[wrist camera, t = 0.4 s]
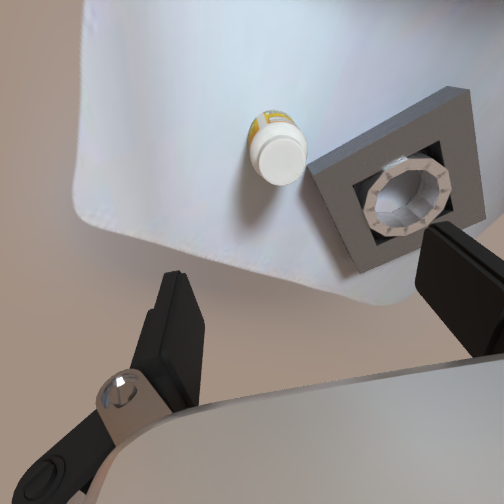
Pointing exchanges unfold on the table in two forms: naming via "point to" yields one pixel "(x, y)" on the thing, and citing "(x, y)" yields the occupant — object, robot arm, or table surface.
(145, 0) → the table surface
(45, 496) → the robot arm
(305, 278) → the table surface
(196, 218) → the table surface
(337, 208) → the bore block
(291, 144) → the supplement bottle
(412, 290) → the table surface
